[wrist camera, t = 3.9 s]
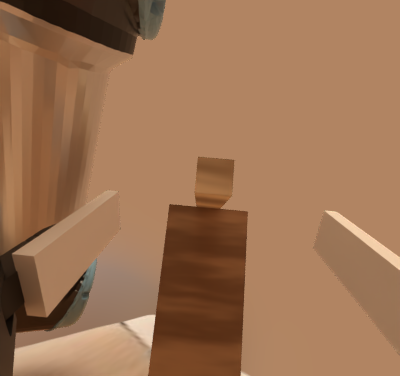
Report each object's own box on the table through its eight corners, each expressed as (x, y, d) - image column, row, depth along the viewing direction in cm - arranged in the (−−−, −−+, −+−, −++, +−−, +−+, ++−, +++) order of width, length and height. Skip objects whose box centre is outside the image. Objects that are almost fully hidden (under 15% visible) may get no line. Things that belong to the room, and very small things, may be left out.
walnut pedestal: (246, 537, 19) (257, 211, 25) (117, 521, 19) (160, 202, 25) (226, 408, 32) (237, 218, 39) (152, 399, 33) (174, 212, 39)
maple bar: (232, 195, 16) (234, 159, 17) (194, 192, 16) (198, 156, 17) (212, 217, 42) (213, 202, 42) (197, 215, 42) (199, 201, 42)
